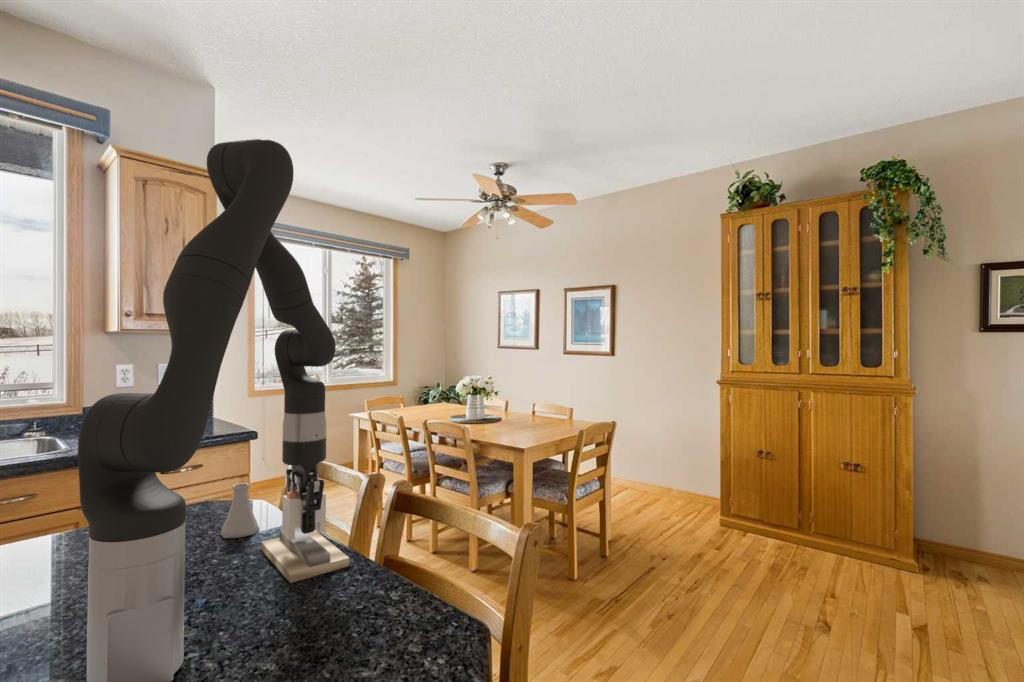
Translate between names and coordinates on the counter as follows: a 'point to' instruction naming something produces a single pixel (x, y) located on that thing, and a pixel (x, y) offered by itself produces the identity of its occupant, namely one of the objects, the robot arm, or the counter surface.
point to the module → (299, 515)
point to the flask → (240, 515)
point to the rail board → (296, 564)
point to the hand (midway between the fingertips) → (303, 528)
